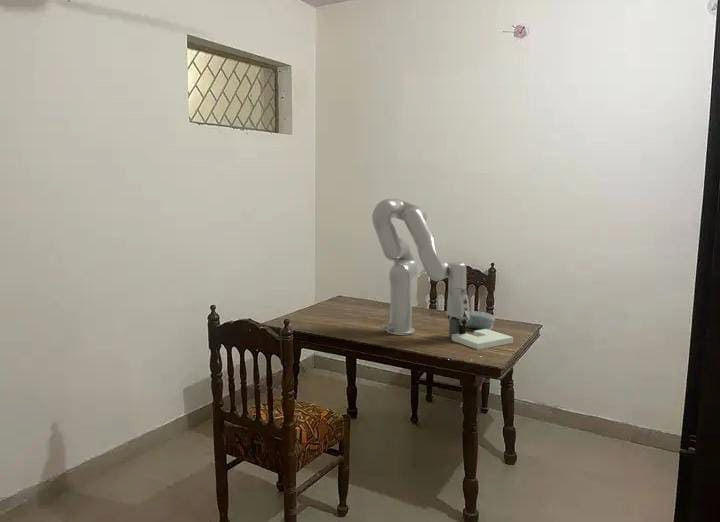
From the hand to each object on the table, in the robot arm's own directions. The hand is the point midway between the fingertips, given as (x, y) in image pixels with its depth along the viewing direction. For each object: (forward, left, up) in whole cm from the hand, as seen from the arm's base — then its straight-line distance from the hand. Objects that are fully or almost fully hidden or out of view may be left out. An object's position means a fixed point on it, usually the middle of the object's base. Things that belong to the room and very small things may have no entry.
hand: (457, 332), depth 240 cm
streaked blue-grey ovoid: (+19, +6, -3) cm, 21 cm away
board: (+5, -10, -3) cm, 11 cm away
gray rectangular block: (-1, +1, -3) cm, 3 cm away
